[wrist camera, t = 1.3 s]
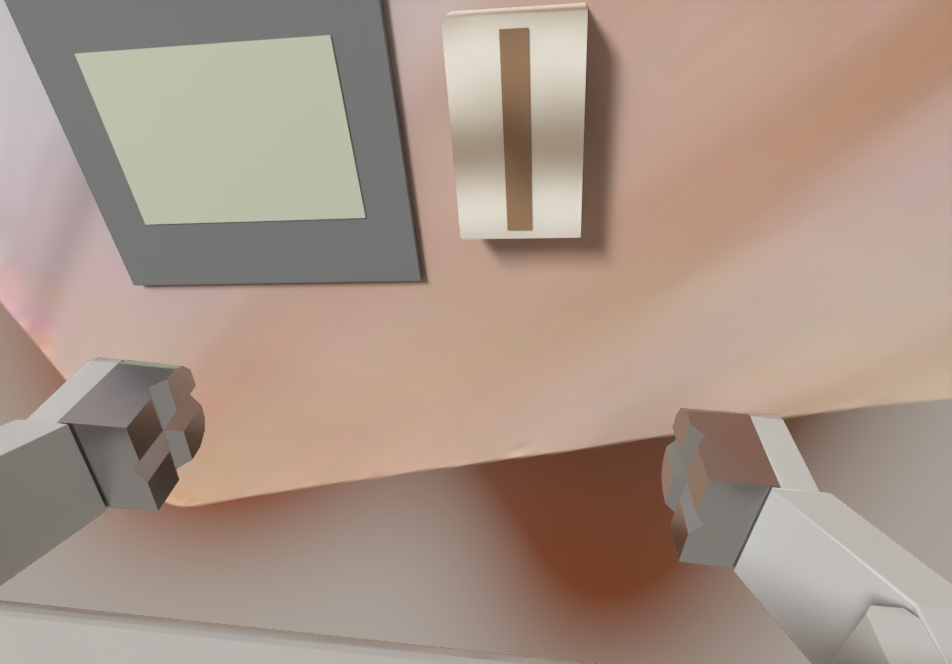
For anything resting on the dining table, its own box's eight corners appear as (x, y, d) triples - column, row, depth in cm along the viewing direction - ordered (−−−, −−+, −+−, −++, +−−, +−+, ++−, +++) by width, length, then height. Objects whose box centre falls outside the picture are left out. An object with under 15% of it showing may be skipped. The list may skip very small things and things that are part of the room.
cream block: (451, 10, 27) (440, 19, 25) (585, 1, 27) (588, 10, 24) (467, 215, 33) (460, 240, 30) (578, 213, 32) (580, 238, 30)
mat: (370, -75, 26) (367, -75, 25) (422, 276, 35) (420, 281, 35) (-5, -39, 28) (-15, -38, 27) (138, 281, 37) (133, 286, 37)
